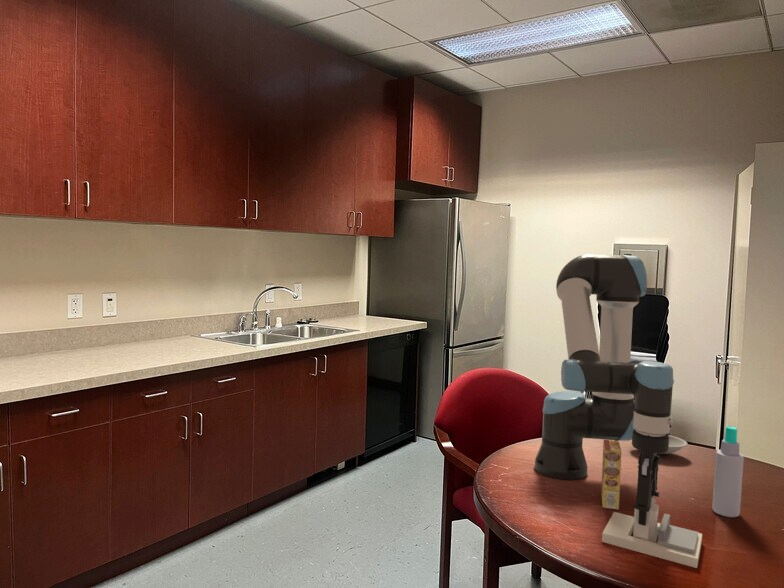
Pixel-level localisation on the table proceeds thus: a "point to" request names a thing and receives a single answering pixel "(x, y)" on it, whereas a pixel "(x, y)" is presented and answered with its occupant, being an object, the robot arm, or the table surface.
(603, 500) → the candy box
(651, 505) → the plug
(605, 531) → the socket plate
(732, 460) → the spray bottle
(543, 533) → the table surface
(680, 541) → the shutter
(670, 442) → the dish
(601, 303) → the robot arm
